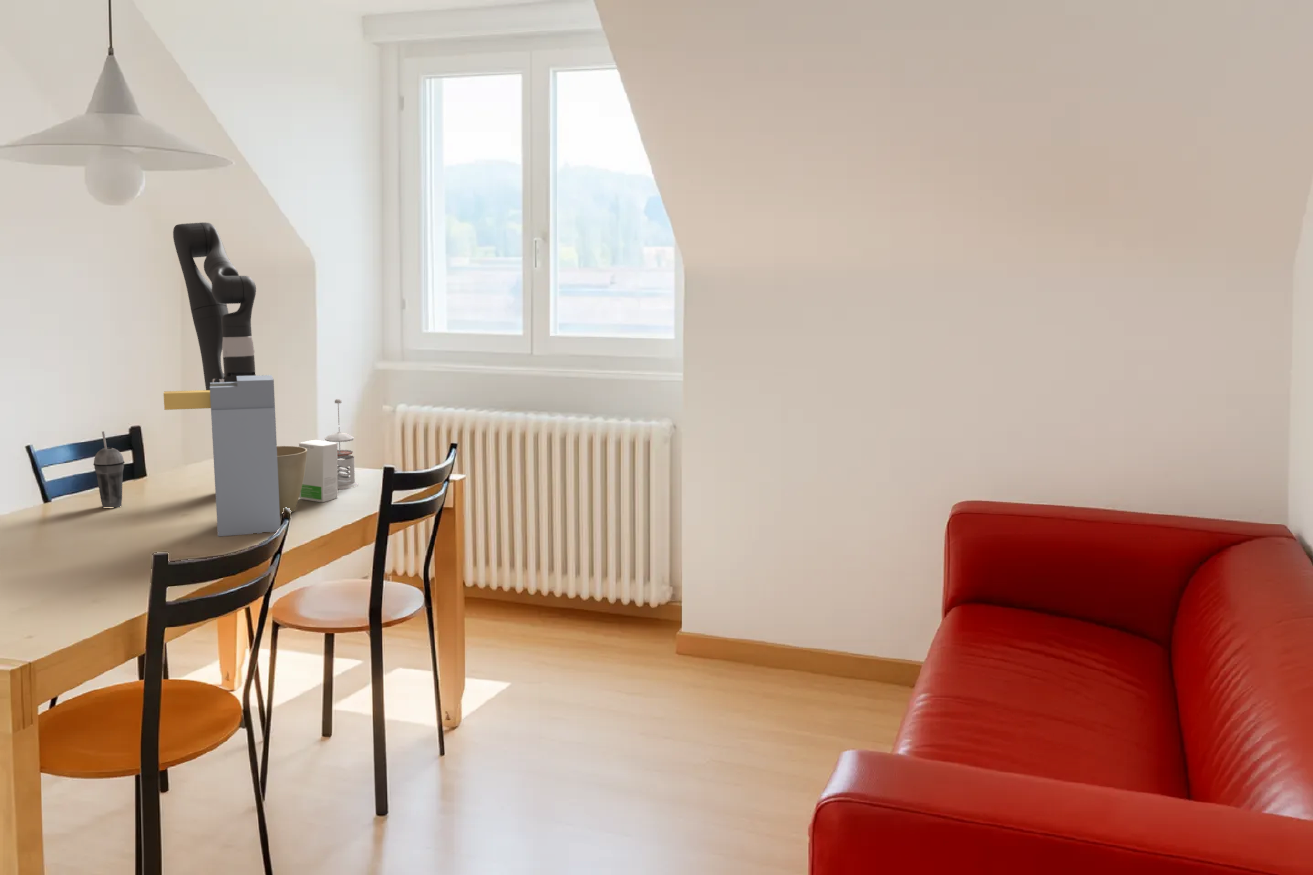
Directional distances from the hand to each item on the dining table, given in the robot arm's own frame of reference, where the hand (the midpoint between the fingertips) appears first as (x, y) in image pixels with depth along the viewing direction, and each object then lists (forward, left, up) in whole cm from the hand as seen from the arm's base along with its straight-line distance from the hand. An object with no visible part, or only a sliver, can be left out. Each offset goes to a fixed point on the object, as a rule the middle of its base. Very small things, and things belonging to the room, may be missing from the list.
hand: (242, 417), depth 285 cm
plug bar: (+15, -19, +6) cm, 25 cm away
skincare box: (+9, +17, -24) cm, 31 cm away
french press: (+1, +32, -24) cm, 40 cm away
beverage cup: (-29, -18, -24) cm, 42 cm away
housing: (+18, -15, -24) cm, 33 cm away
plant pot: (+11, +1, -24) cm, 26 cm away
